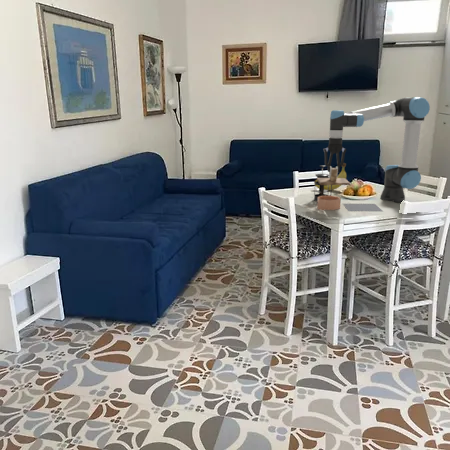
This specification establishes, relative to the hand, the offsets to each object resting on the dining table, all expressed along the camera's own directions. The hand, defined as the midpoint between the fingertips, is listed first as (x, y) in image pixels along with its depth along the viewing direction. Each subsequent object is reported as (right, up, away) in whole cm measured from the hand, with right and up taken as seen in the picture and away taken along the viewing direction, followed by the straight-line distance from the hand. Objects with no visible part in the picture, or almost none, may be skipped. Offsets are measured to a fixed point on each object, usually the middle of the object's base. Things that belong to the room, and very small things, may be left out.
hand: (333, 177), depth 266 cm
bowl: (-2, -18, +5) cm, 19 cm away
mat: (+18, -19, +4) cm, 26 cm away
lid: (0, -3, +1) cm, 3 cm away
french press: (-1, -12, +28) cm, 30 cm away
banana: (+12, -3, +59) cm, 61 cm away
